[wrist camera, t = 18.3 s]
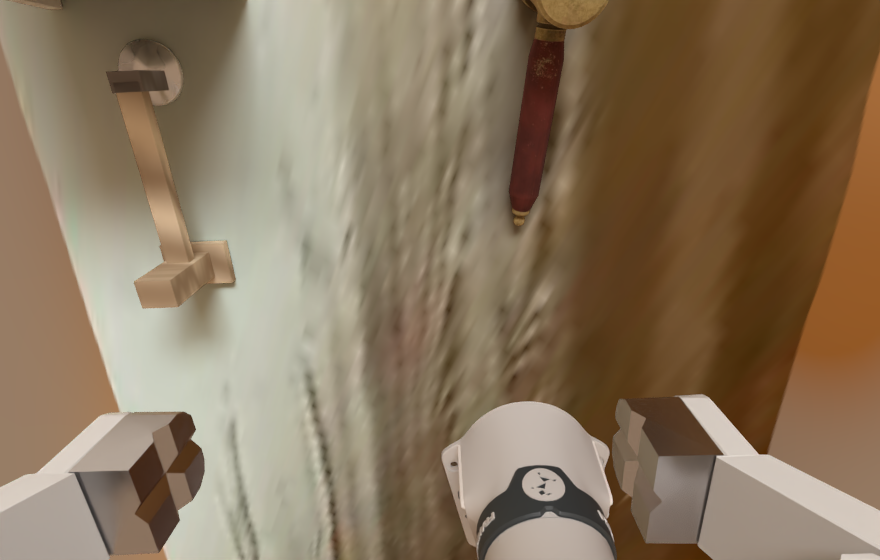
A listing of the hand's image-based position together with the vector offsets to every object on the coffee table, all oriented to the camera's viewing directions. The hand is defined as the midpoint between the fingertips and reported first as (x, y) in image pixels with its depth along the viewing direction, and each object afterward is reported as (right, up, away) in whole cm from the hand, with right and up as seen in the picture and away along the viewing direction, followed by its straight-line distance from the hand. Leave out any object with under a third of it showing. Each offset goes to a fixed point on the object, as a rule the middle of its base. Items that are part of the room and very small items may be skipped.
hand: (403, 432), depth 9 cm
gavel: (+8, +19, +32) cm, 38 cm away
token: (-23, +20, +31) cm, 44 cm away
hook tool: (-23, +11, +33) cm, 42 cm away
